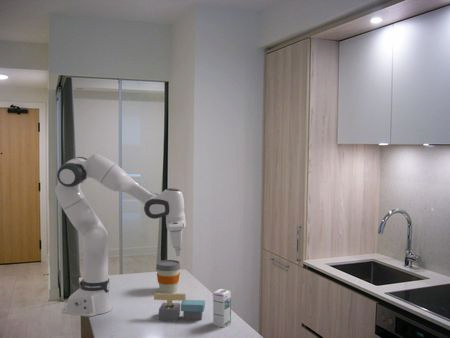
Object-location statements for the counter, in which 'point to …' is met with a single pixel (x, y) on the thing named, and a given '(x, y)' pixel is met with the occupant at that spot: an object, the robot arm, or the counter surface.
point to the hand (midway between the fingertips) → (178, 253)
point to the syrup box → (222, 307)
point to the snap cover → (193, 305)
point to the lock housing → (176, 313)
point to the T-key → (169, 297)
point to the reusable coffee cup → (168, 275)
